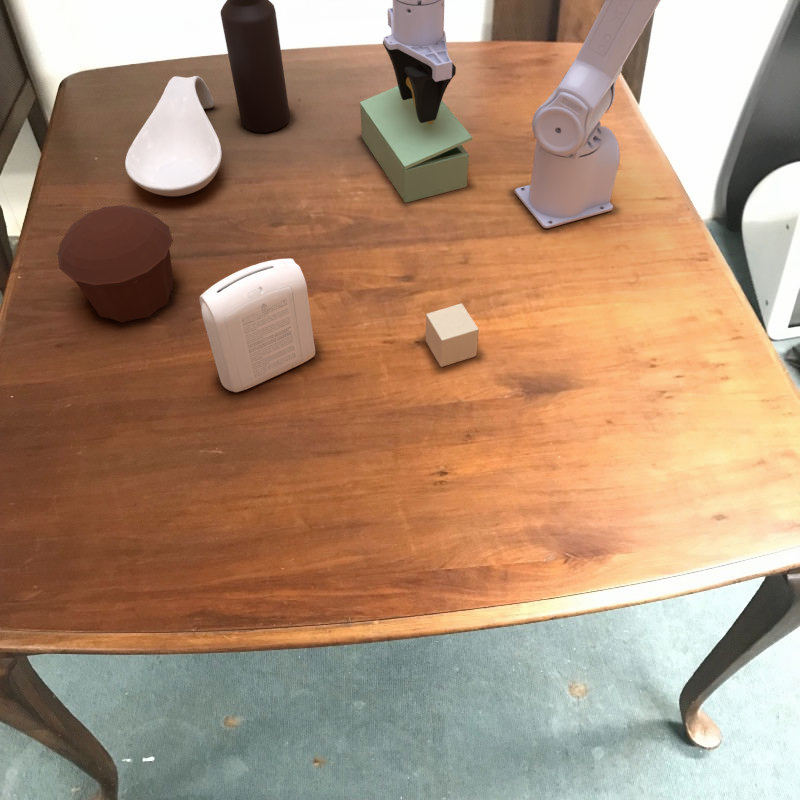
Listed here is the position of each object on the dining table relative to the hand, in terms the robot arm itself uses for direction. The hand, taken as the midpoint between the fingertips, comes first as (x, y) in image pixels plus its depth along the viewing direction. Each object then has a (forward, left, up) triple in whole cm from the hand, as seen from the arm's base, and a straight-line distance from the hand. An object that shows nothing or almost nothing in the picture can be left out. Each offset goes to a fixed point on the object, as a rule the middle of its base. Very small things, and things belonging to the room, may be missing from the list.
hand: (418, 108), depth 95 cm
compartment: (+1, 0, -7) cm, 7 cm away
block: (+10, +32, -7) cm, 34 cm away
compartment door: (+1, 0, -2) cm, 2 cm away
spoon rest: (+28, -13, -8) cm, 32 cm away
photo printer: (+28, +27, -8) cm, 39 cm away
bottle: (+16, -17, -8) cm, 24 cm away
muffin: (+39, +11, -8) cm, 41 cm away
